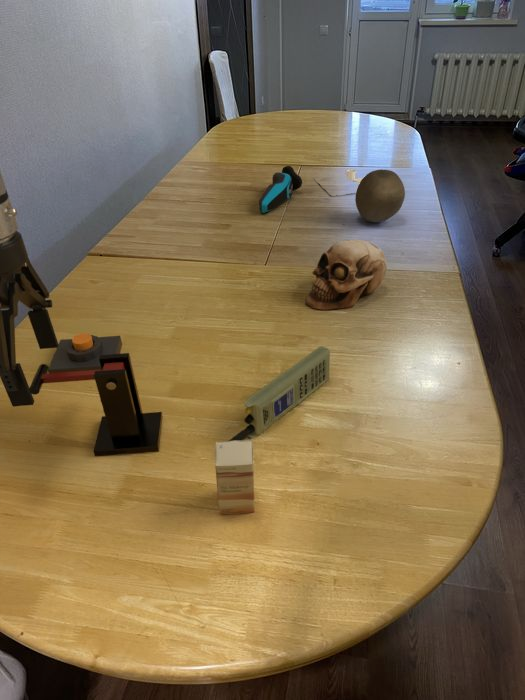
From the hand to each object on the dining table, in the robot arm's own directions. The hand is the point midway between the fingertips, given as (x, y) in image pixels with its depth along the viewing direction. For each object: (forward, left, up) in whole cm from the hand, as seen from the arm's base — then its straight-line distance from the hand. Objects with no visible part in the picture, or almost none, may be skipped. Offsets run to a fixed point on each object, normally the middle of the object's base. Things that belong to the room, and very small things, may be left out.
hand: (37, 373), depth 76 cm
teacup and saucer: (+73, +118, -14) cm, 140 cm away
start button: (0, +22, -10) cm, 24 cm away
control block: (0, +22, -14) cm, 26 cm away
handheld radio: (+36, +3, -14) cm, 39 cm away
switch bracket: (+11, 0, -14) cm, 18 cm away
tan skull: (+55, +41, -14) cm, 70 cm away
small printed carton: (+28, -15, -14) cm, 35 cm away
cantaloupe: (+74, +83, -14) cm, 112 cm away
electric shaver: (+46, +105, -14) cm, 116 cm away
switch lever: (+6, 0, -2) cm, 6 cm away
